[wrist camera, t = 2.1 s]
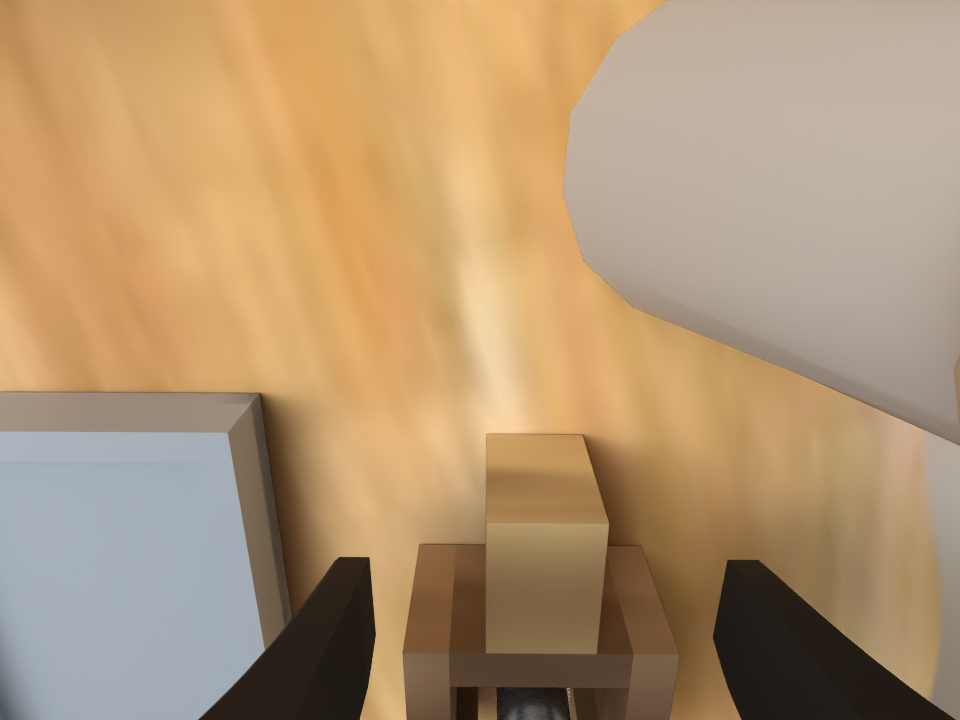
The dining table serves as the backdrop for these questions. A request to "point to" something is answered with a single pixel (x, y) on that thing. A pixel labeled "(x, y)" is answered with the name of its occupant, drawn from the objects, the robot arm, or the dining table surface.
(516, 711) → the grey lever handle
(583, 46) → the dining table surface
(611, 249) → the salt shaker
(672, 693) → the wooden stool frame
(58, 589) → the tray
